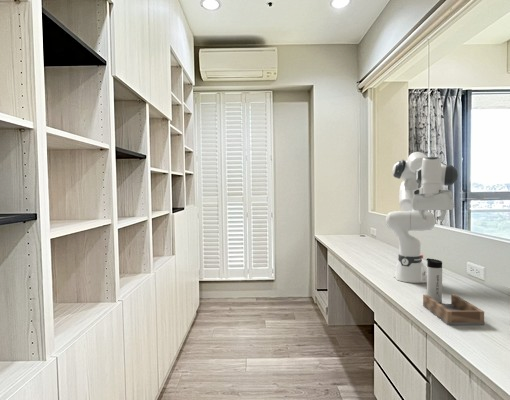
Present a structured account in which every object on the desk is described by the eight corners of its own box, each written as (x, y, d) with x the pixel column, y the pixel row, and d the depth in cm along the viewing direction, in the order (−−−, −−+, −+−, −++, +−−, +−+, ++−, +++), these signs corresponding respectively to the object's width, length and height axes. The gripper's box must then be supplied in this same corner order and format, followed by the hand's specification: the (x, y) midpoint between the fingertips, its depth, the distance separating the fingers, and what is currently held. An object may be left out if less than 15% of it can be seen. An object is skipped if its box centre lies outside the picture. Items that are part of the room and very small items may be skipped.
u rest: (423, 306, 166) (423, 294, 166) (454, 305, 166) (455, 294, 165) (447, 325, 144) (447, 311, 144) (484, 324, 144) (484, 311, 143)
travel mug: (428, 299, 175) (428, 257, 174) (443, 302, 171) (443, 259, 170) (424, 302, 170) (424, 259, 169) (439, 305, 166) (440, 261, 165)
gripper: (456, 189, 167) (457, 220, 167) (419, 192, 186) (419, 220, 185) (447, 188, 164) (447, 220, 164) (409, 191, 183) (410, 219, 182)
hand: (432, 220), depth 174 cm, fingers open, 8 cm apart
